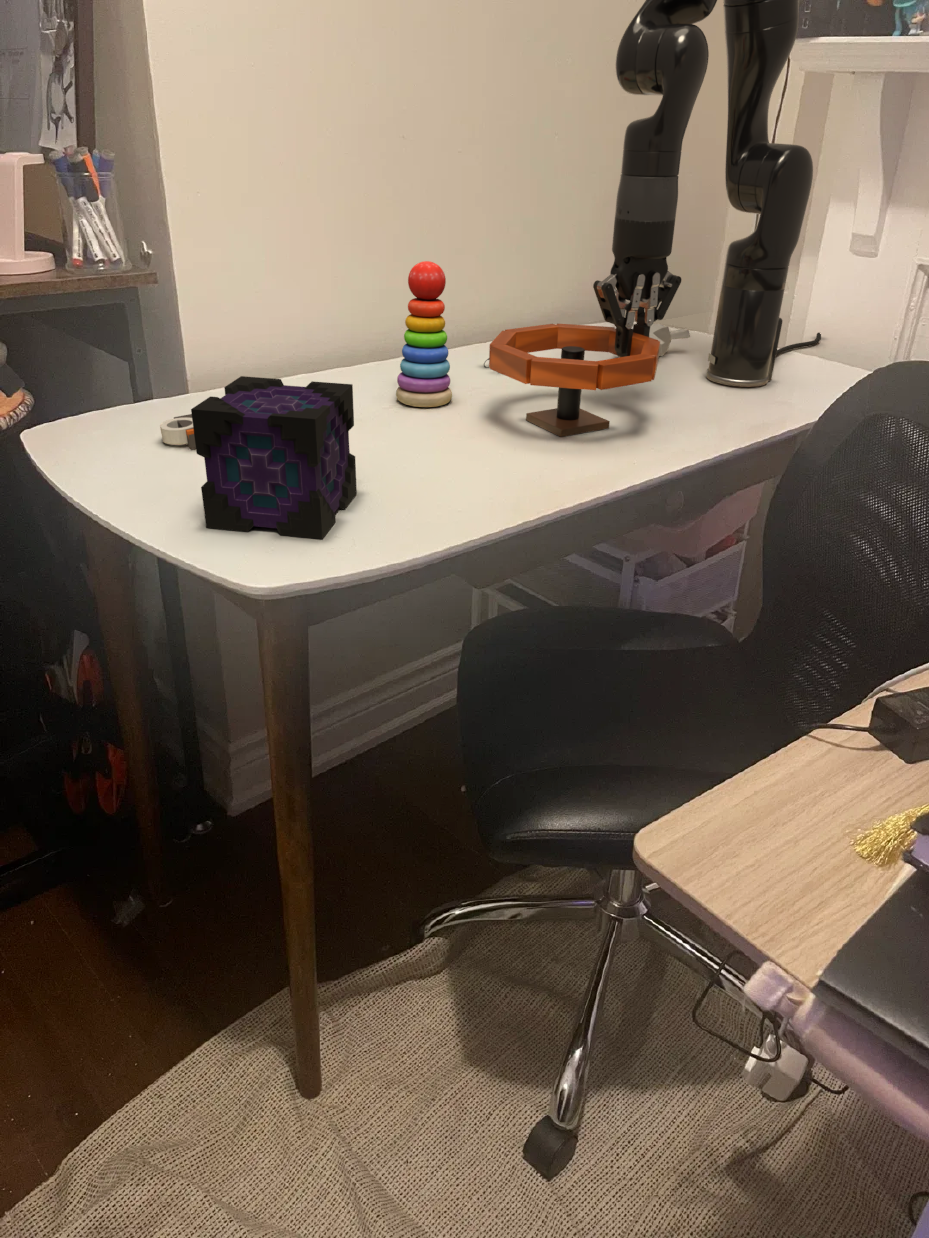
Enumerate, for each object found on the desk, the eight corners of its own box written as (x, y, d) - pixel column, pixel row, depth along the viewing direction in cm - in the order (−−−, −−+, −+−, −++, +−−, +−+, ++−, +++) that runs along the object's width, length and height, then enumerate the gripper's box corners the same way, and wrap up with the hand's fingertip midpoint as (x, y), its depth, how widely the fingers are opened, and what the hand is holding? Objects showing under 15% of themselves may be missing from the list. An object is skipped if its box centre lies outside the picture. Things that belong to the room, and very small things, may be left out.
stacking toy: (445, 411, 125) (447, 268, 116) (389, 406, 126) (387, 264, 117) (457, 396, 132) (460, 259, 122) (404, 391, 133) (403, 256, 124)
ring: (587, 340, 130) (589, 318, 128) (690, 374, 114) (693, 350, 113) (463, 358, 120) (463, 335, 119) (557, 398, 105) (559, 372, 103)
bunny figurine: (600, 333, 152) (651, 310, 161) (600, 362, 155) (650, 339, 164) (648, 342, 146) (698, 319, 155) (646, 373, 149) (695, 349, 158)
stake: (572, 412, 126) (579, 339, 121) (609, 428, 120) (617, 352, 115) (525, 420, 122) (530, 345, 117) (560, 437, 116) (567, 359, 112)
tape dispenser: (153, 417, 112) (269, 397, 118) (158, 440, 113) (272, 419, 119) (167, 433, 107) (287, 411, 113) (172, 457, 108) (290, 433, 114)
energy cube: (322, 539, 88) (315, 419, 82) (206, 528, 89) (190, 409, 83) (356, 494, 98) (352, 384, 92) (251, 484, 100) (241, 376, 94)
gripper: (622, 221, 107) (608, 367, 116) (707, 215, 113) (688, 355, 122) (582, 214, 112) (572, 354, 121) (666, 209, 119) (650, 343, 127)
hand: (630, 354), depth 122 cm, fingers closed on ring, 2 cm apart
